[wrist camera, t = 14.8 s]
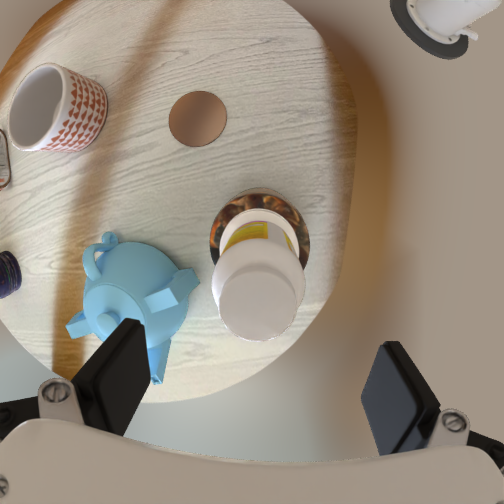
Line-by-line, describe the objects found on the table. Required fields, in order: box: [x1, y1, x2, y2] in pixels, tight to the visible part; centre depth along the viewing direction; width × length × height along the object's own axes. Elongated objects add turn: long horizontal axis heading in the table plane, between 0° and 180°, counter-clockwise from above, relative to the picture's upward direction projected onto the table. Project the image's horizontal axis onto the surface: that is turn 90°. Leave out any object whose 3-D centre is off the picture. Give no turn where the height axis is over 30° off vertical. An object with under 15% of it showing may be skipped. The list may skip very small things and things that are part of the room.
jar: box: [210, 188, 310, 270], centre depth 36 cm, size 12×12×15 cm
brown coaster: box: [169, 91, 227, 147], centre depth 39 cm, size 9×9×1 cm
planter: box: [7, 63, 107, 152], centre depth 33 cm, size 14×14×13 cm
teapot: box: [66, 232, 200, 385], centre depth 40 cm, size 19×19×14 cm
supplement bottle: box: [212, 220, 305, 342], centre depth 23 cm, size 7×7×13 cm
